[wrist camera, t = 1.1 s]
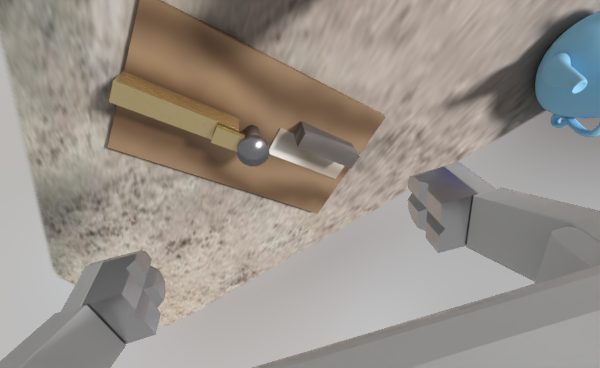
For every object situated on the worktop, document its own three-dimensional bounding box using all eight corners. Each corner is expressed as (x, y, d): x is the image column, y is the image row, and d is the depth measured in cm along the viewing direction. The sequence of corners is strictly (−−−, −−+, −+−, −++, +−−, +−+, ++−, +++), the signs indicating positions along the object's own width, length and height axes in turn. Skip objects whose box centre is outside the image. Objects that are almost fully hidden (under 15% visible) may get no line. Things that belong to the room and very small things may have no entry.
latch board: (143, -9, 29) (128, -3, 25) (382, 114, 41) (397, 130, 37) (110, 143, 38) (94, 165, 34) (316, 209, 49) (322, 231, 46)
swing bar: (271, 126, 38) (274, 145, 34) (259, 150, 40) (261, 170, 36) (124, 65, 32) (107, 80, 28) (117, 96, 33) (101, 114, 29)
